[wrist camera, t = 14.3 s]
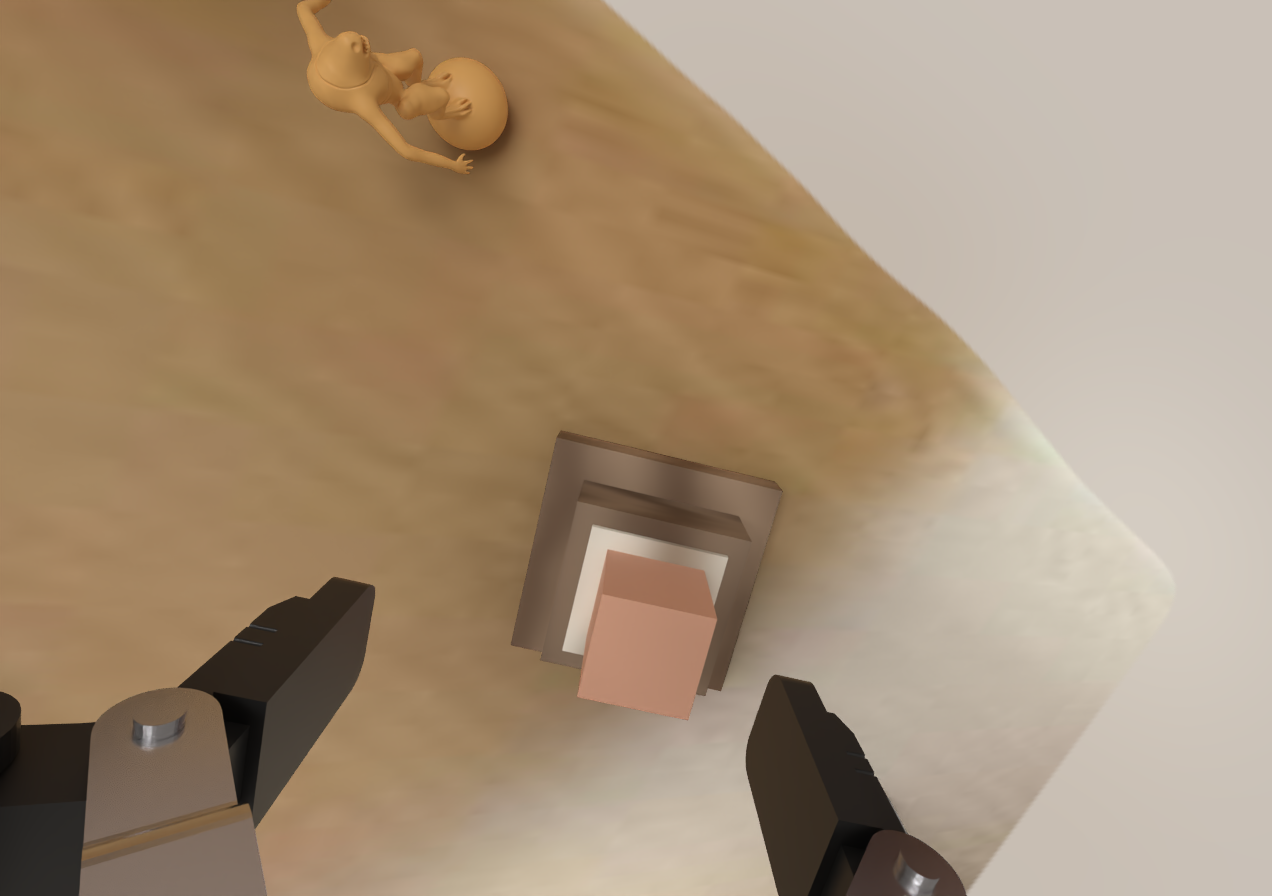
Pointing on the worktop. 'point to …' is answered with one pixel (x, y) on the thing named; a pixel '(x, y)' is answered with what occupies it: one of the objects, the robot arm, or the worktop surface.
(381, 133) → the figurine
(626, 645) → the terracotta cube
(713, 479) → the walnut plinth
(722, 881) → the worktop surface
